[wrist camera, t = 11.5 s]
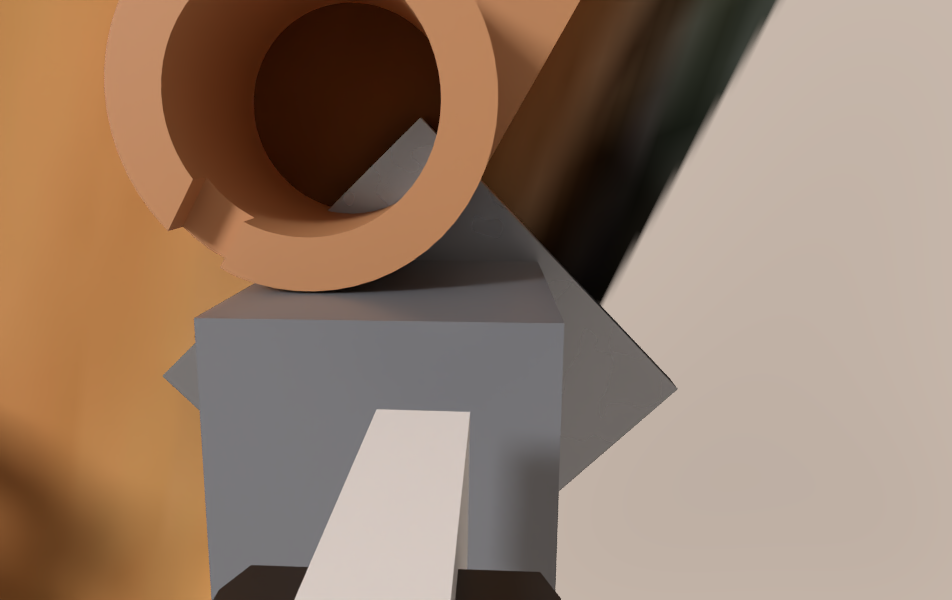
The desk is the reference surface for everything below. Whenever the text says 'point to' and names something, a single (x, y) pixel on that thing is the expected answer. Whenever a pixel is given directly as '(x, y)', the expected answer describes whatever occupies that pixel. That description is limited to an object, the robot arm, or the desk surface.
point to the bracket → (242, 154)
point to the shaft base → (585, 322)
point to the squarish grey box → (380, 405)
